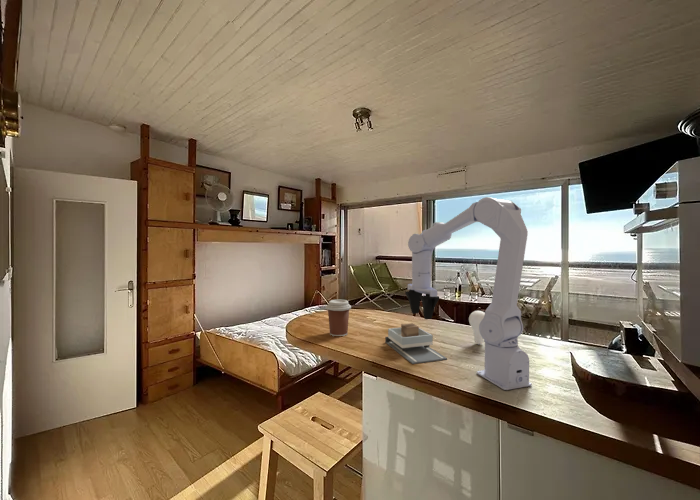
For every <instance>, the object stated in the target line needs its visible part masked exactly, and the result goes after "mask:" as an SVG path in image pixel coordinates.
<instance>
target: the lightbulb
mask: <svg viewBox="0 0 700 500" xmlns="http://www.w3.org/2000/svg"><path fill="white" fill-rule="evenodd" d="M484 315H485V311H482V310H474V311H472V312H471V313H470V314H469V317H468V322H469V325H470V326H471V329H472V332H473V337H474V340H473V341H474V343H475V344H477V345H481V344H483V343H484V339H483V338H482V336H481V334H480V331H479V325H480V322H481V321H482V320H483V318H484Z"/></svg>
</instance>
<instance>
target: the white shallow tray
mask: <svg viewBox="0 0 700 500" xmlns="http://www.w3.org/2000/svg"><path fill="white" fill-rule="evenodd" d="M387 332H388V333H387V337H388V338H389V339H391V342H392V343H393V342H395V343H396V344H397V345H399V346H400V347H401V348H402V350H403V351H404V350H407V348H409V347H417V346H424V347H425V348H429V347H430V346H433V337H434V336H433V334H431V333H429V332H427V331H425V329H422V328H420V327H419V336H412V337H402V336H401V327H392V328H390V327H389V328H387Z"/></svg>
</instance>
